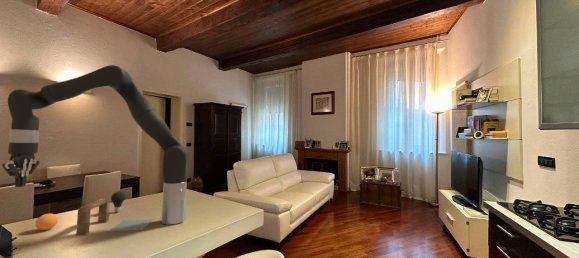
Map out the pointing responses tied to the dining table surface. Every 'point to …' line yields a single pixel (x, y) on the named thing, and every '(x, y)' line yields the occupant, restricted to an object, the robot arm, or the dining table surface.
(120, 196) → the light bulb
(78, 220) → the bridge
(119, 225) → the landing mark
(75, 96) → the robot arm
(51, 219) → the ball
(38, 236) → the dining table surface
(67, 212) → the dining table surface
